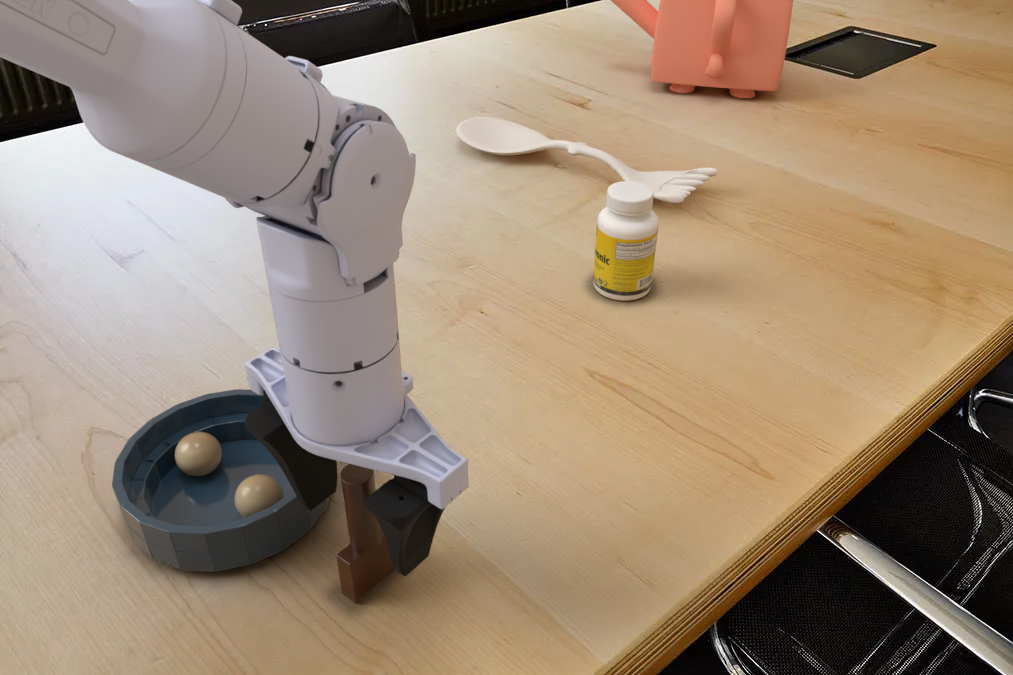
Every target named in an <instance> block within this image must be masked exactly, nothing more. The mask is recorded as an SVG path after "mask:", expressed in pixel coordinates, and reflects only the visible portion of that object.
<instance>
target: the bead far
mask: <svg viewBox="0 0 1013 675" xmlns="http://www.w3.org/2000/svg"><path fill="white" fill-rule="evenodd" d="M221 457H222V449H221V446H220V443H219V442H218V440H217V439H216V438H215V437H214V436H212V435H210V434H208V433H205V432H193V433H190V434H188V435H186V436H185V437H183V438H182V439H181V440H180V441H179V443H178V445H177V447H176V449H175V461H176V464H177V466H178V467H179V469H180V470H181V471H182V472H184V473H185V474H187V475H190V476H194V477H200V476H205V475H207V474H210V473H211V472H213V471H214V470H215V469H216V468H217V466H218V465H219V463H220V461H221Z"/></svg>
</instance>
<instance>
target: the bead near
mask: <svg viewBox="0 0 1013 675" xmlns="http://www.w3.org/2000/svg"><path fill="white" fill-rule="evenodd" d="M283 498H284V495H283V490H282V487H281V485H280V484H279V483H278V481H277V480H275V479H274V478H273V477H271V476H269V475H265V474H256V475H252V476H249V477H247V478H246V479H245V480H243V481H242V482H241V483H240V485H239V486H238V488H237V490H236V493H235V506H236V509H237V511H238V512H239V513H240V515H241V516H242V517H244V518H246V517H248V516H251V515H253V514H255V513H258V512H260V511H262V510H265V509H267V508H270V507H271V506H273V505H274V504H276V503H277V502H278V501H280V500H281V499H283Z"/></svg>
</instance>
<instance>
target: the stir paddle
mask: <svg viewBox="0 0 1013 675" xmlns="http://www.w3.org/2000/svg"><path fill="white" fill-rule="evenodd" d="M340 482H341V488H342V489H341V491H342V496H343V504H344V510H345V518H346V524H347V533H348V538H349V543H348V544H347V545H346V546H345V547H344V548H342V549H341V550H340V551H339V552H338V553H336V554H335V557H336V563H337V570H338V576H339V581H340V589H341V593H342V595H343V596H345V597H346V598H347V599H349V600H350V601H352V602H353V603H354V604H357V603H358V602H360V601H361V600H362V599H363V598H364V597H365V596H366V595H368V594H369V593H370V592H371V591H372V590H373V589H374V588H376V586H378V585H379V584H380V583H381V582H382V581H383V580H384V579H385V578H387V577H388V576H389V575H390V574H392V573H393V571H395V569H394V567H393V565H392V563H391V560H390V556H389V551H388V546H387V541H386V538H385V535H384V533H383V530H382V528H381V526H380V524H379V523H378V521H377V520H376V518H375V517H374V516H373V514H372V513H371V512H370V511H369V510H368V509H366V508H365V507H364V505H363V500H364V499H366V498H367V497H368V496H369V495H371V494H372V493H373V492H375V491H376V490H377V489H376V480H375V470H372V469H368V468H364V467H360V466H356V465H352V464H348V463H347V464H346V465H344V467H343V468H342V469H341V471H340Z"/></svg>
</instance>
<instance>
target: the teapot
mask: <svg viewBox="0 0 1013 675" xmlns="http://www.w3.org/2000/svg"><path fill="white" fill-rule="evenodd" d="M610 1H611V2H612V3H613V4H614V5H615V6H616V7H617V8H618V9H620V10H621V11H622V12H623V13H624V14H625V15H626V16H627V17H628V18H630V20H632V21H633V23H635V24H636V25H637V26H639V28H641V29H642V30H643V32H645V33H647V35H648V36H650V37H651V38H652V39H653V44H652V54H651V62H650V63H651V64H650V66H651V68H650V70H651V71H650V79H651V82H656V83H664V84H670V86H669V90H670V91H672V92H674V93H678V94H689V93H693V92H694V91H695V89H696V87H707V88H720V89H729V94H730V95H731V96H733V97H735V98H740V99H751V98H754V97H755V96H756V92H755V91H764V92H777V90H778V87H779V84H780V80H781V78H782V74H783V70H784V64H785V61H786V60H785V59H786V53H787V48H788V42H789V41H788V40H789V34H790V28H791V20H792V12H793V6H794V0H659V5H658V9H657V8H656V7H654V5H652V4H651V2H649V1H648V0H610Z"/></svg>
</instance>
